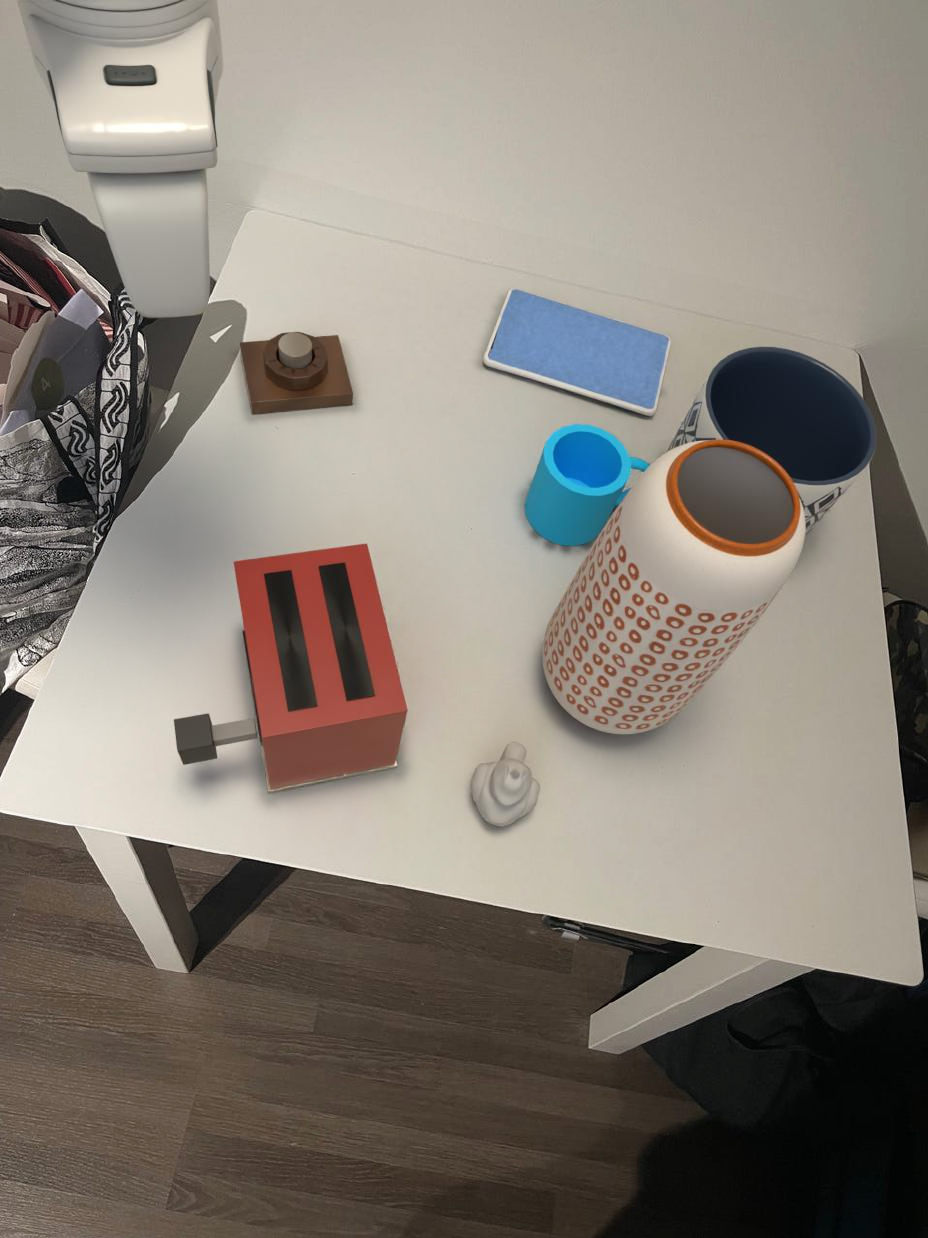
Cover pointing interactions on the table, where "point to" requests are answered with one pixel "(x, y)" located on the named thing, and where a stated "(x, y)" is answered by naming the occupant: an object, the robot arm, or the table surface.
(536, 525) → the mug
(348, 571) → the toaster
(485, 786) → the rubber duck
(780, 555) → the vase
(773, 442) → the planter
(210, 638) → the table surface
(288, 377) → the control block
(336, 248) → the table surface
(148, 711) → the table surface
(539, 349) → the tablet
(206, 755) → the toaster slider
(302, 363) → the button
